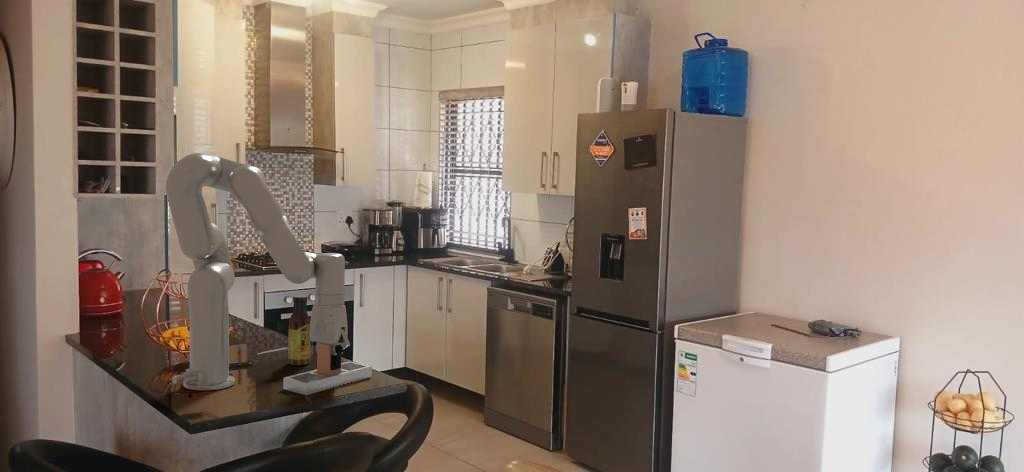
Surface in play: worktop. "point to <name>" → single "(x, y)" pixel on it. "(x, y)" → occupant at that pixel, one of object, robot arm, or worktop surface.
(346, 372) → the hole rail
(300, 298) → the sauce bottle
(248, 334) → the worktop surface
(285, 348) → the chef's knife
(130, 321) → the worktop surface
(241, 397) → the worktop surface
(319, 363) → the square peg
